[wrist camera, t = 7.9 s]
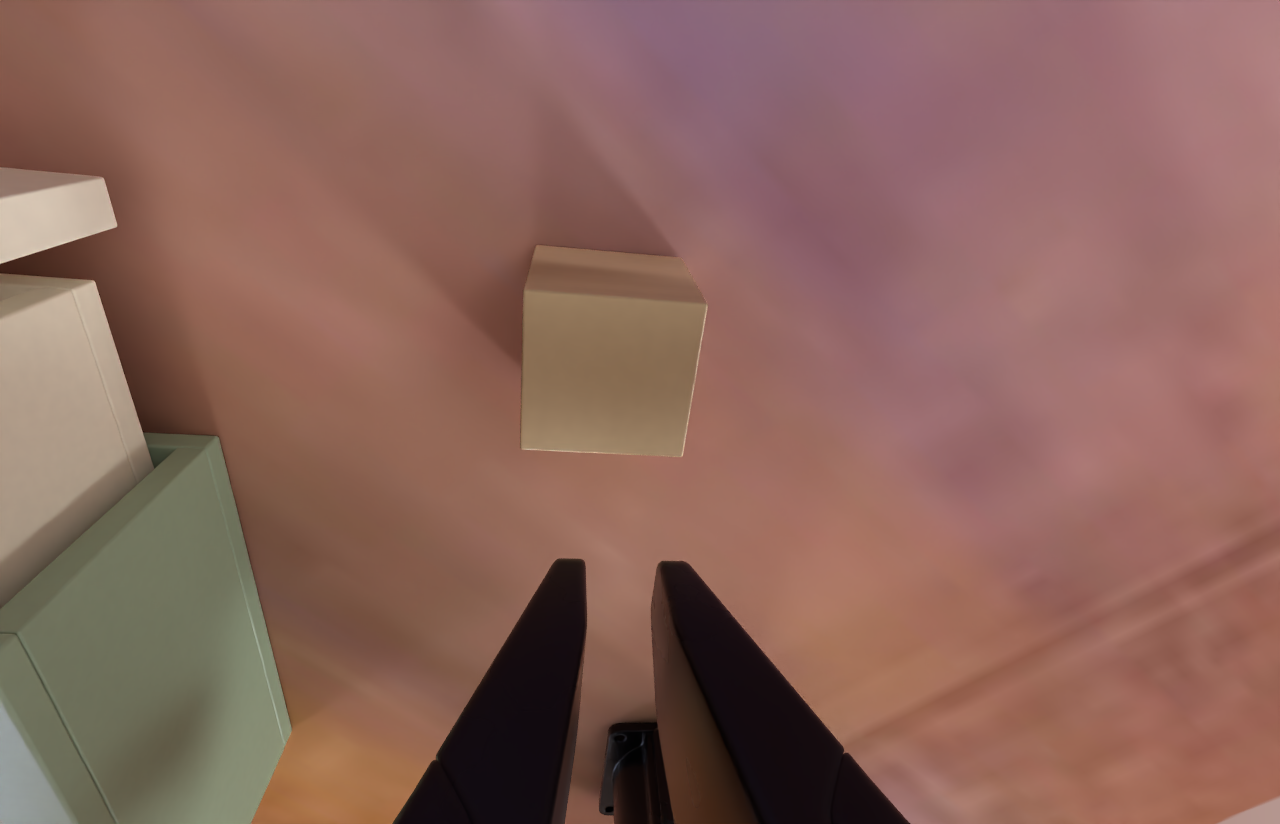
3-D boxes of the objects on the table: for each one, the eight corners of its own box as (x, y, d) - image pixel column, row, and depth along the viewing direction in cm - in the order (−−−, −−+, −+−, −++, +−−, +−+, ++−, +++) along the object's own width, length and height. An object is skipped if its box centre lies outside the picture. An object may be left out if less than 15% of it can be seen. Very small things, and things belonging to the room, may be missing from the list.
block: (663, 387, 20) (682, 457, 16) (531, 379, 19) (519, 450, 15) (682, 257, 18) (708, 303, 14) (535, 244, 17) (523, 288, 13)
